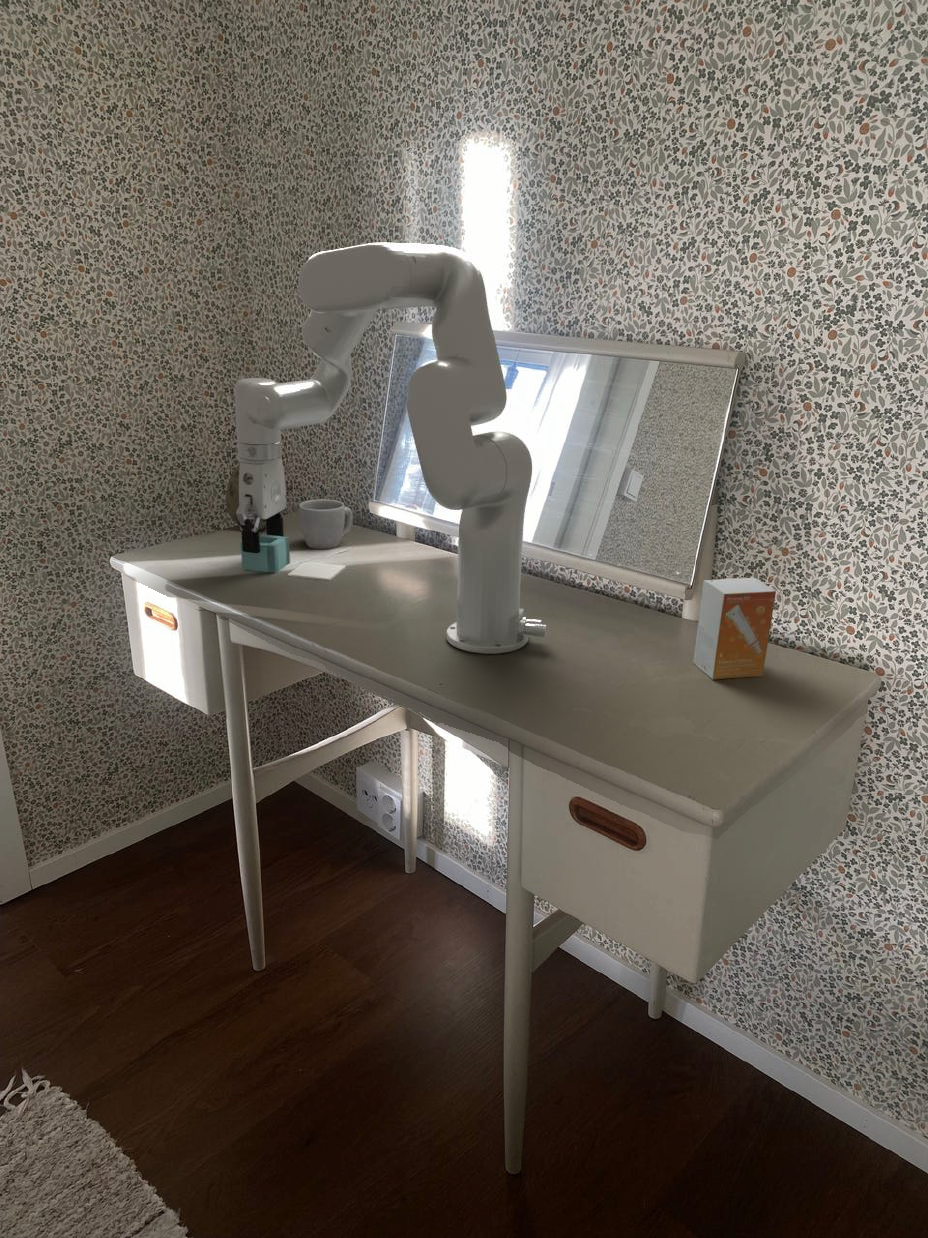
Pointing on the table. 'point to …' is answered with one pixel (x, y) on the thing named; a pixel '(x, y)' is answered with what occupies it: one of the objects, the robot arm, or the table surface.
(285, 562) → the c link
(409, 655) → the table surface
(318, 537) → the mug
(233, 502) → the decorative egg
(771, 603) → the small box
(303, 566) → the pad
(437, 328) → the robot arm
